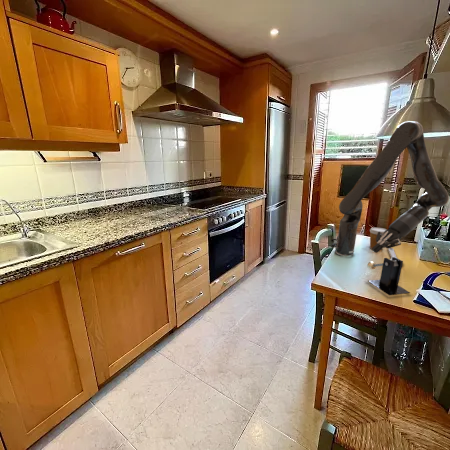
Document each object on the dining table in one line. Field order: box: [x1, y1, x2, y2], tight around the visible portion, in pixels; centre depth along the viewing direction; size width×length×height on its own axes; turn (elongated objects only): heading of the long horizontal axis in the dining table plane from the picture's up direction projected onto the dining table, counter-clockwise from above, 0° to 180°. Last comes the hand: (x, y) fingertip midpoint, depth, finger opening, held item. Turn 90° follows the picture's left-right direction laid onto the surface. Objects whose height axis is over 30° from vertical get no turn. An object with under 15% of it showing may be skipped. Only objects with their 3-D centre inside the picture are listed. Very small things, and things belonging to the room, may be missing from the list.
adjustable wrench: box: [387, 247, 404, 266], centre depth 136 cm, size 25×6×2 cm, turn 148°
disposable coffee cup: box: [369, 227, 387, 249], centre depth 149 cm, size 10×10×12 cm
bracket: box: [368, 257, 411, 296], centre depth 103 cm, size 12×10×14 cm
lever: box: [367, 260, 398, 271], centre depth 108 cm, size 15×4×4 cm, turn 10°
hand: (373, 251), depth 112 cm, fingers closed
